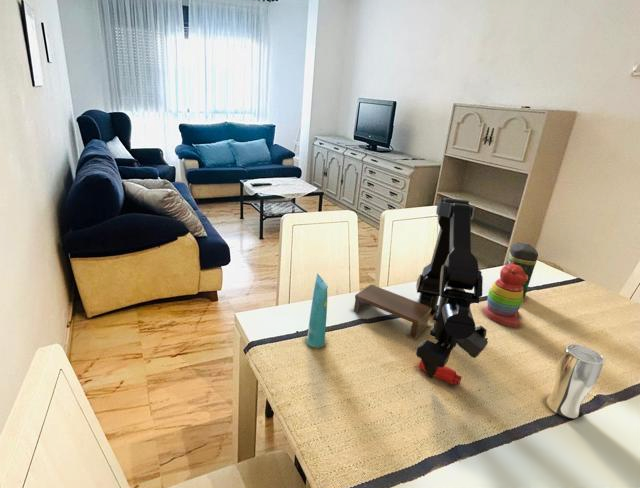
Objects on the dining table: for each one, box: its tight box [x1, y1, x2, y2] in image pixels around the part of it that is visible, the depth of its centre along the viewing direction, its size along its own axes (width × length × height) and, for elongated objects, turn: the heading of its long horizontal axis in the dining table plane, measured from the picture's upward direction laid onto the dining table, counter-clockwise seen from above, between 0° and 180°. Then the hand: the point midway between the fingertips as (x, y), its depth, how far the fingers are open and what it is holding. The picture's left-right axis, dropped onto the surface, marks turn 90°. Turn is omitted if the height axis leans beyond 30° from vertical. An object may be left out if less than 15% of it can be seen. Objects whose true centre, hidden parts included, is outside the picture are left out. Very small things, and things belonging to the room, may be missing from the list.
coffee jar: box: [505, 242, 539, 300], centre depth 133 cm, size 10×8×19 cm
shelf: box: [353, 283, 432, 339], centre depth 116 cm, size 10×20×6 cm, turn 49°
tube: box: [306, 272, 329, 349], centre depth 101 cm, size 7×5×19 cm, turn 20°
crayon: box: [418, 359, 463, 386], centre depth 94 cm, size 9×3×3 cm, turn 49°
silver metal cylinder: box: [546, 343, 605, 419], centre depth 84 cm, size 7×7×15 cm
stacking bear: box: [483, 262, 528, 328], centre depth 119 cm, size 11×10×18 cm
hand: (437, 368), depth 93 cm, fingers open, 9 cm apart
